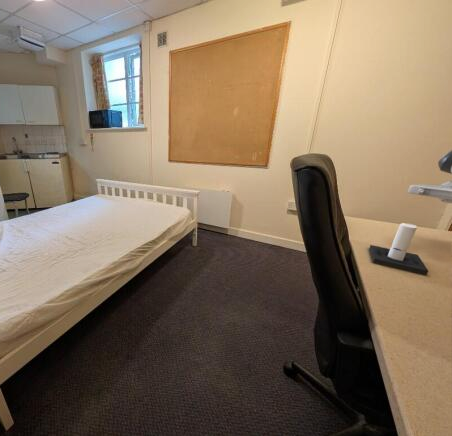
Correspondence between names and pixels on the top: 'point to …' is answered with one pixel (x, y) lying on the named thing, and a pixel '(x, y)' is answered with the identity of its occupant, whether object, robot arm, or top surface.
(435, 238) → the top surface
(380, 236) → the top surface
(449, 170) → the robot arm
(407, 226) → the tube
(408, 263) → the base pad
